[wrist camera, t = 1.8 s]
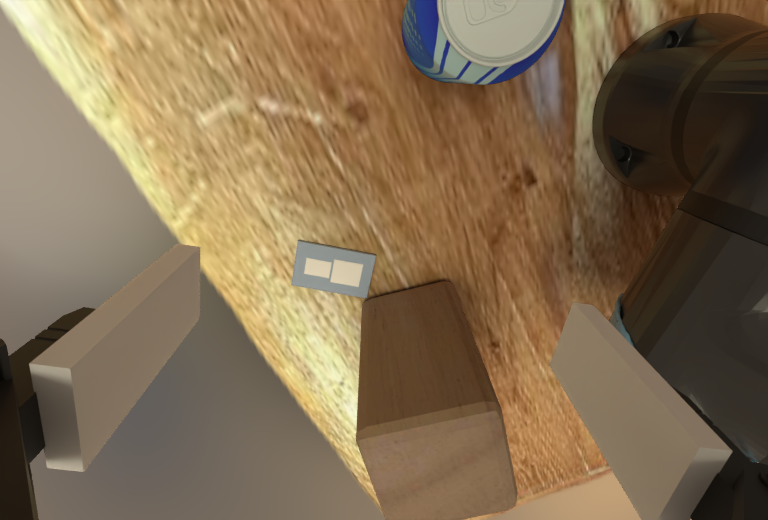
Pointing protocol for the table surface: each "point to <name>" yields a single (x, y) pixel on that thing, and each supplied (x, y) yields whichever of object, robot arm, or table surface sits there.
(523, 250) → the table surface
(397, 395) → the block
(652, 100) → the robot arm
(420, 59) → the beer can
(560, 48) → the table surface
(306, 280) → the card
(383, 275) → the table surface
